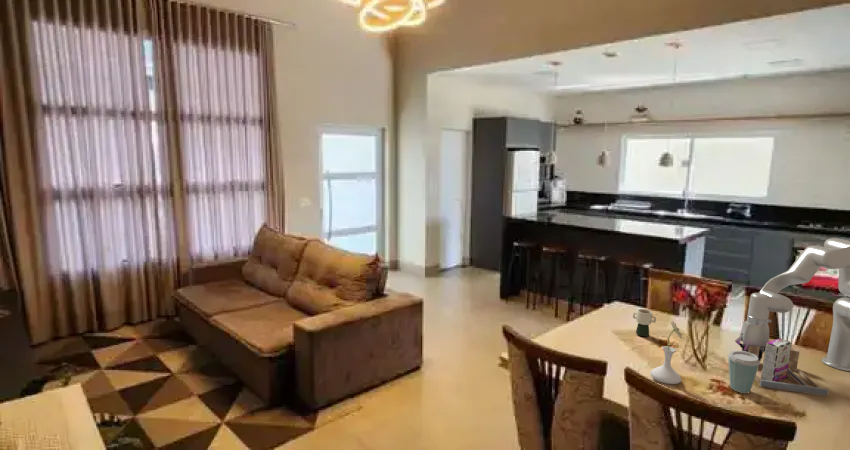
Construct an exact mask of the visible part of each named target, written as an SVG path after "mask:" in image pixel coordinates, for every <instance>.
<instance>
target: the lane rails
mask: <svg viewBox="0 0 850 450" xmlns="http://www.w3.org/2000/svg"><path fill="white" fill-rule="evenodd" d="M787 372H788V373H789V374H791V375H792V376H793V377H794V378H795V379H796V380H797V381H798V382H799V383H800V384H802V385H796V384H795V383H790V384H788V382H782V381H781V382H782V383H781V382H780V381H778V382H774V381H766V380H763V379H761V380H760V383H759V386H760V387H761V386H762V388H770V389H775V390H781V391H782V390H784V391H788V392H789V391H791V392H797V393H803V394H805V393H806V394H811V395H818V396H824V397H827V396H828V393H829V389H828V388H824V387H821V388H818V387H814V386H812V387H810V386H809V385H808V384H807V383H806V382H805V381H804V380H802V378H800V377H799V376H798V375H797V374H796V373H795V372H794V371H791V370H789V369H788V371H787ZM794 373H795V374H796V375H797V376H798V377H799V378H798V377H797V376H796V375H795V374H794ZM803 381H804V382H805V383H806V384H807V385H808V386H807V385H806V384H805V383H804V382H803ZM803 385H804V386H803Z"/></svg>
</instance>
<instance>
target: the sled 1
mask: <svg viewBox="0 0 850 450" xmlns="http://www.w3.org/2000/svg"><path fill="white" fill-rule="evenodd" d="M759 349H760V346H754V345H749V346H748V348H747V351H748V352H749V353H752V354H754V355H757V357H758V356H759ZM758 368H763V363H761V362H760V364H759V367H758ZM787 377H788V378H789V379H790V380H791V381H792V382H793V384H796V385H802V384H800V383H799V382H798V381H797V380H796V379H795V378H794V377H793V376H792V375H791V374H789V373H788V372H787ZM754 380H755V381H757V382H758V383H759V384H760V380H762V379H761V377H759V375H757V374H756V376H755V379H754ZM766 381H768V380H766ZM774 382H775V381H774ZM781 383H783V382H782V381H781ZM787 383H788V382H787ZM788 384H791V382H790V383H788ZM803 386H804V385H803Z"/></svg>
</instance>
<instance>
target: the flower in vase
mask: <svg viewBox="0 0 850 450" xmlns="http://www.w3.org/2000/svg"><path fill="white" fill-rule="evenodd" d="M670 324H671V327H672V331H671V332H670V334H669V335H668V336H666V338H667V346H666V345H665V346H662V347H661V348H662V350H663V352H664V362H663V364H662V365H660V366H657V367H655V368H653V369H651V371H650V376H651V378H653V380H654V379H655V380H656V381H658V382H660V383H663V384H667V385H677V384H679V383H681V382H682V377H681V376H680V374H679V373H678V372H677V371H676V370H675V369H674V368H673V366H672V365H671V361H672V357H673V355H674V353H675V352H676V351H677V349H676V348H675V347H671V346H670V345H674V344H675V343H674V342H672V343H671V342H670V337H671V335H673V332H674V333H675V334H676V335H677V337H678V338H679V339H683V335H682V333H681V331H680V328H679V327H678V326H677V324H676V322H674V320H670Z"/></svg>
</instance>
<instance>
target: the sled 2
mask: <svg viewBox="0 0 850 450" xmlns="http://www.w3.org/2000/svg"><path fill="white" fill-rule="evenodd" d="M799 357H800V350H798V349H797V348H792V347H791V352H790V358H789V365H788V369H789V370H791V371H792V372H793V373H794V374H795V375H796V376H797V377H798V378H800V377H799V376H798V375H797V374H799V375H800V376H801V377H802V378H804V379H805V380H806V381H807V382H808V383H809V384H810V385H812V386H810V387H818V388H822V387H821V386H819V384H817V383H816V382H815V381H814V380H812V378H811V377H810V376H808V375H807V374H806V373H805V372H803V371H802V370H801V369H798V364H799ZM796 373H797V374H796ZM802 381H803V382H804V383H805V384H806V385H807V386H809V385H808V384H807V383H806V382H805V381H804V380H802Z"/></svg>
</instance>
